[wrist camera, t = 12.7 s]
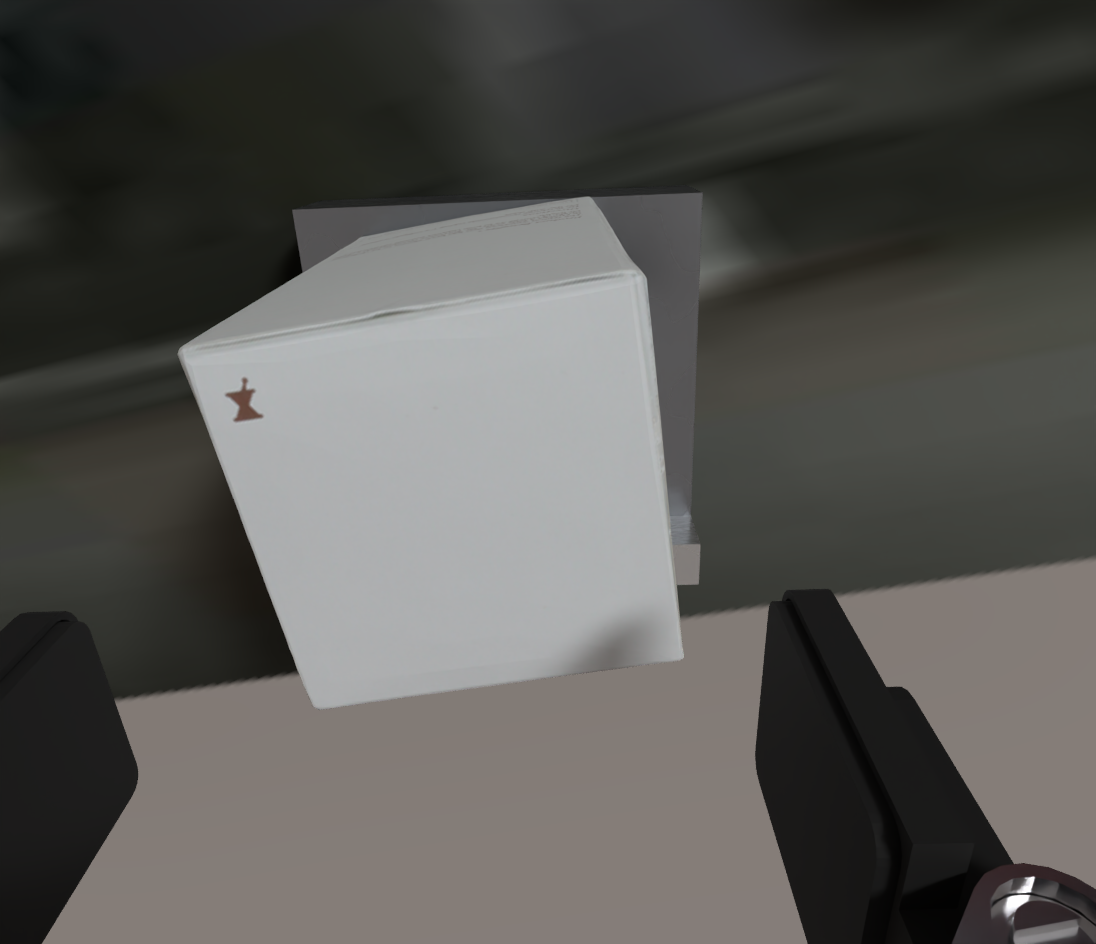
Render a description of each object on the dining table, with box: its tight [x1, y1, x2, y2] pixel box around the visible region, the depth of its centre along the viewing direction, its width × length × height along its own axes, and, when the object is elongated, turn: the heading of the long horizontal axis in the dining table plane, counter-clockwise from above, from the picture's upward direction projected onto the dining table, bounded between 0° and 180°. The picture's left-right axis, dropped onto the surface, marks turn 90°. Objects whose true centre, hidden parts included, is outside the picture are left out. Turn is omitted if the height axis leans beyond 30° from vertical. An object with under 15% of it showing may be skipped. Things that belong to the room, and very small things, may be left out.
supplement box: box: [178, 197, 684, 710], centre depth 19 cm, size 7×7×13 cm
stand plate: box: [293, 185, 703, 585], centre depth 26 cm, size 12×12×5 cm
